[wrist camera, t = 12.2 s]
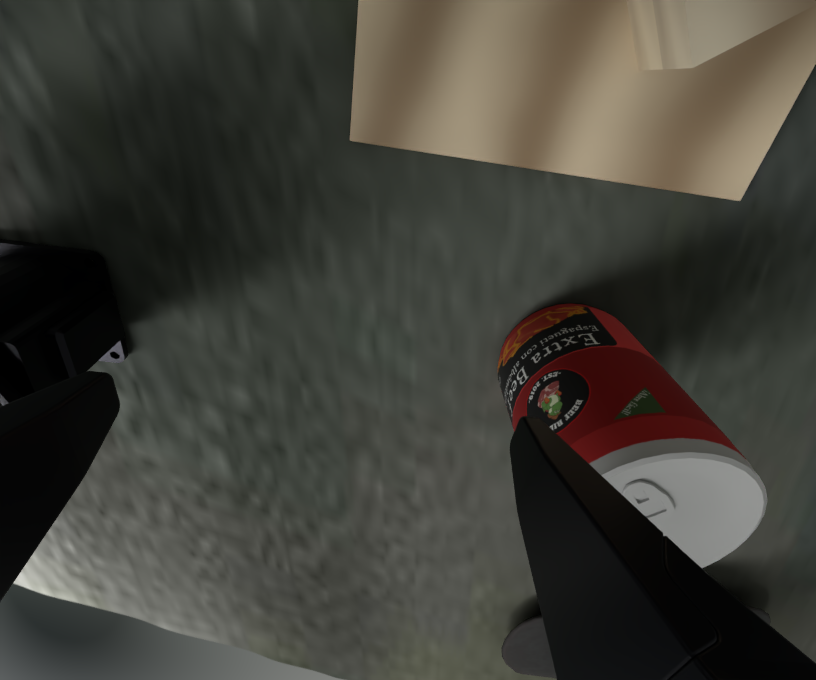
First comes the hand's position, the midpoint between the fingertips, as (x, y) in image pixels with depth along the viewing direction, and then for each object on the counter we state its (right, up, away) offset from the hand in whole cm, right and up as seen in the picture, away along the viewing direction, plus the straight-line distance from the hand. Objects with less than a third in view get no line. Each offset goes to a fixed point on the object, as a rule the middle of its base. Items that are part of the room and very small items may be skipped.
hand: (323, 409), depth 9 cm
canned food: (+11, +1, +15) cm, 19 cm away
